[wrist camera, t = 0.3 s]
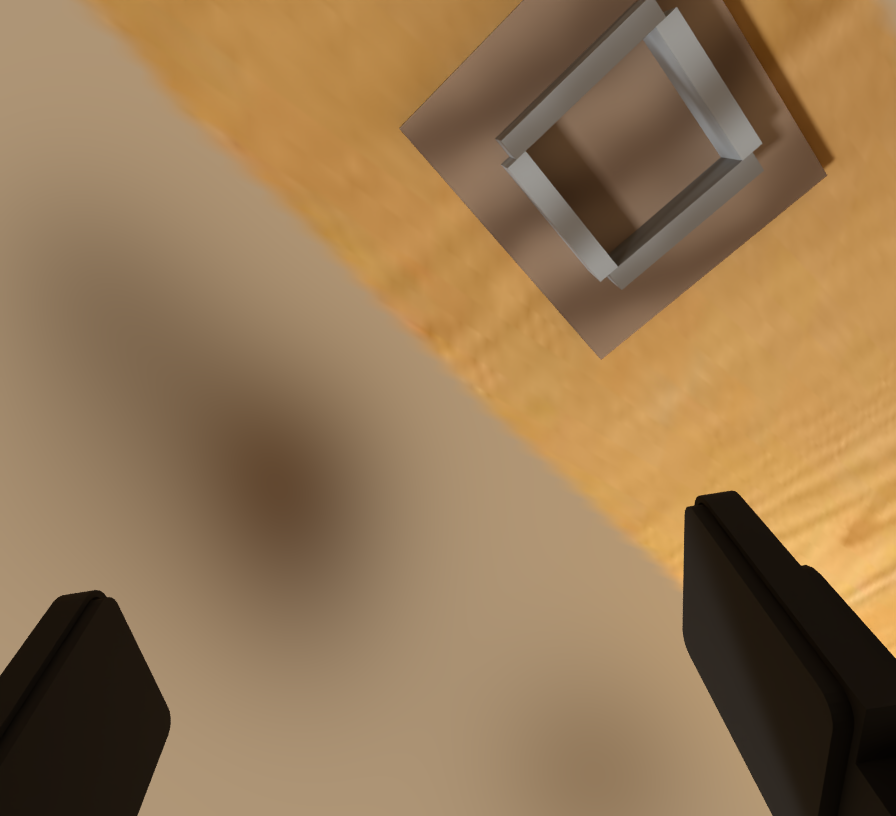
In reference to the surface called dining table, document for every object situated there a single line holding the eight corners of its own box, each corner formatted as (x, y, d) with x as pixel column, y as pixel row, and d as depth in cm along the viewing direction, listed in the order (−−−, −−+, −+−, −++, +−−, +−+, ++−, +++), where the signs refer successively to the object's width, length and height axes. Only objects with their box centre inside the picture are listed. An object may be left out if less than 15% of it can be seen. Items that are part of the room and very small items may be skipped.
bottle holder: (399, 128, 34) (398, 130, 31) (638, -119, 30) (666, -147, 27) (595, 353, 41) (612, 374, 37) (814, 173, 37) (855, 179, 33)
